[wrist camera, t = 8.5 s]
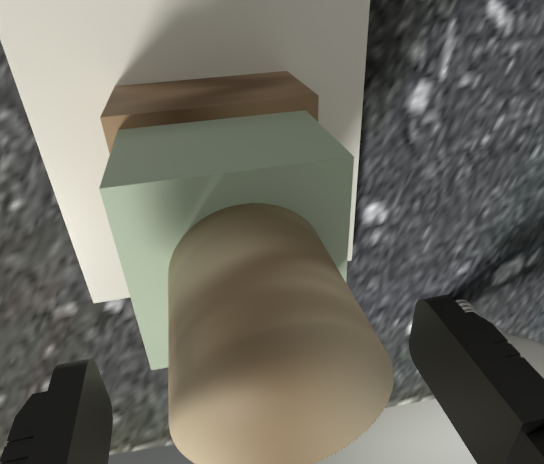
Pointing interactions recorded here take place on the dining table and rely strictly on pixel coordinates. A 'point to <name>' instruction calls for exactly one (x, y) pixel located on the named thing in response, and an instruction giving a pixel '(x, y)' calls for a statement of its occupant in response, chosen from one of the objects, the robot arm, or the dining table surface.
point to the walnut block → (204, 101)
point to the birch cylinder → (267, 344)
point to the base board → (161, 68)
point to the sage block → (216, 194)
